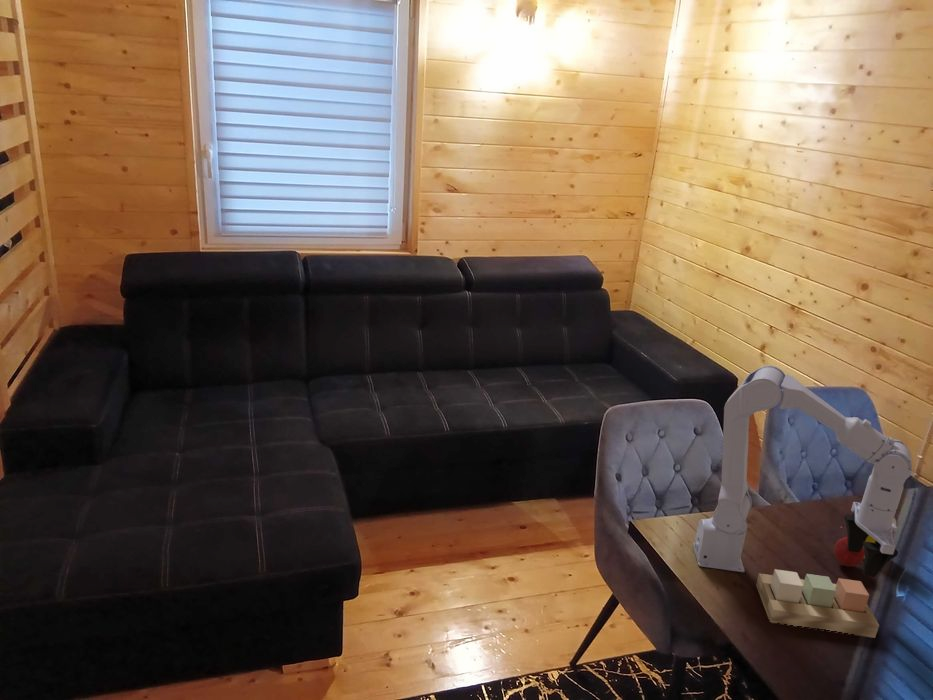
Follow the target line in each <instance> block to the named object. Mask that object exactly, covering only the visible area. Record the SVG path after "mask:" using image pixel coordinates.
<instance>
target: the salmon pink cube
mask: <svg viewBox="0 0 933 700" xmlns="http://www.w3.org/2000/svg"><path fill="white" fill-rule="evenodd" d="M835 584H836V587H835V589H836V593H835V599H836V601H837V603H838V605H839V606H840V608H841V609H843V610H850V611H857V612H864V611H865V608H866V605H868V600H869V597H870V594H869V592H868V591H867V589H866V588H865V586H864V584H863V582H862V581H860V580H854V579H853V580H852V579H848V578H847V579H846V578H840V577H838V579H837V581H836V583H835Z"/></svg>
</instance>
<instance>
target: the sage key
mask: <svg viewBox="0 0 933 700" xmlns="http://www.w3.org/2000/svg"><path fill="white" fill-rule="evenodd" d="M803 580H804V584H803V589H802V592H803V594H804V596H805V598H806V601H807V603H808V605H815V606H822V607H829V608H831V607H832V603H833V600H834V597H835V593H836V589H835V588H834V586H833V584H834V583H833V582H832V580H831V579H830V577H829V576H826V575H819V574H812V573H811V574H810V573H806V574H805V577H804V579H803Z"/></svg>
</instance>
